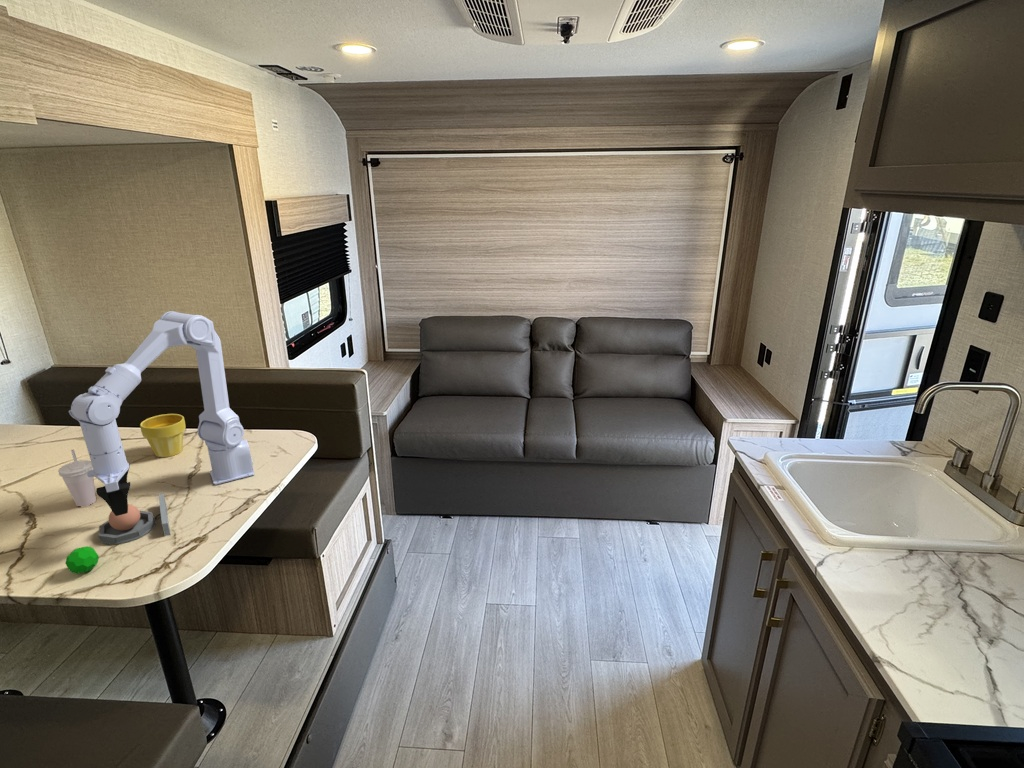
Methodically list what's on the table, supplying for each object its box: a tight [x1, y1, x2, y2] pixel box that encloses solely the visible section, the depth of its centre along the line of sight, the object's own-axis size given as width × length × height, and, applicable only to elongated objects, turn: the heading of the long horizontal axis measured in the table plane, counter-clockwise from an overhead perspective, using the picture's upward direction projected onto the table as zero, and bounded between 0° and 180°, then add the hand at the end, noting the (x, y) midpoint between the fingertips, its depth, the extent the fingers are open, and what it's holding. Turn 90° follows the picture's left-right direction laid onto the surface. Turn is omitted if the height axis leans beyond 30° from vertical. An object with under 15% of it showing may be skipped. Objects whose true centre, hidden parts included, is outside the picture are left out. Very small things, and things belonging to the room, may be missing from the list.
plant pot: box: [139, 413, 186, 458], centre depth 148 cm, size 10×10×10 cm
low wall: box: [158, 493, 171, 537], centre depth 119 cm, size 1×14×3 cm, turn 35°
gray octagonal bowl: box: [98, 510, 157, 546], centre depth 116 cm, size 10×10×2 cm
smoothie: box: [57, 449, 97, 507], centre depth 123 cm, size 6×6×14 cm
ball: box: [108, 503, 141, 531], centre depth 115 cm, size 6×6×6 cm
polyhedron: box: [65, 546, 100, 575], centre depth 103 cm, size 5×5×5 cm
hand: (121, 505), depth 114 cm, fingers open, 7 cm apart
